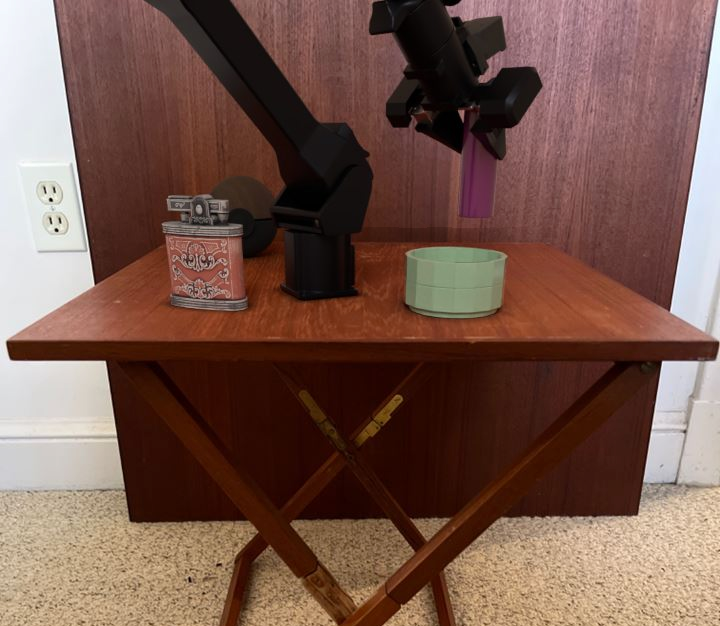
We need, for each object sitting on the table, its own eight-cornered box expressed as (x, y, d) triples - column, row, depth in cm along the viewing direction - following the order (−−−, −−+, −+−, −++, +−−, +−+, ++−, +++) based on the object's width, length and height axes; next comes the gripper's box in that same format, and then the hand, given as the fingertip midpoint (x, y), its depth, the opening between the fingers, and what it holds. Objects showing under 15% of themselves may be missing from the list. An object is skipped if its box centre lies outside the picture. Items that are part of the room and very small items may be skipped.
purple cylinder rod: (469, 218, 83) (478, 99, 78) (450, 214, 87) (457, 100, 81) (500, 217, 85) (511, 100, 79) (480, 213, 89) (489, 101, 83)
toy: (205, 263, 89) (197, 178, 85) (213, 251, 98) (207, 173, 93) (279, 262, 90) (275, 178, 85) (281, 250, 99) (277, 173, 94)
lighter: (254, 304, 69) (247, 194, 64) (238, 312, 66) (229, 197, 61) (182, 298, 71) (171, 192, 66) (164, 305, 68) (150, 194, 64)
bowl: (436, 323, 62) (440, 266, 60) (387, 302, 70) (388, 250, 67) (522, 313, 66) (528, 258, 64) (465, 294, 73) (469, 244, 71)
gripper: (544, -32, 67) (589, 102, 78) (406, -8, 79) (463, 105, 91) (483, 58, 66) (539, 181, 77) (353, 68, 78) (418, 173, 90)
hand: (487, 156), depth 84 cm, fingers closed on purple cylinder rod, 4 cm apart
